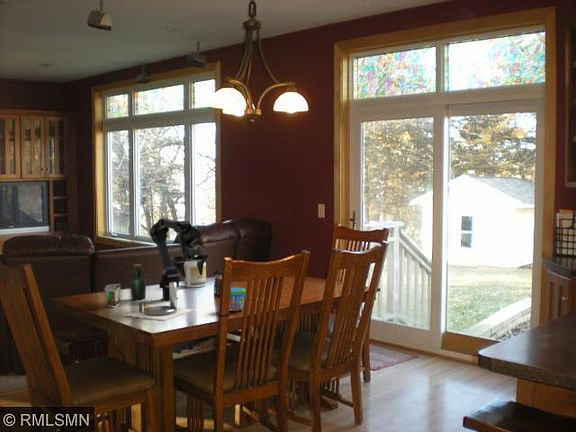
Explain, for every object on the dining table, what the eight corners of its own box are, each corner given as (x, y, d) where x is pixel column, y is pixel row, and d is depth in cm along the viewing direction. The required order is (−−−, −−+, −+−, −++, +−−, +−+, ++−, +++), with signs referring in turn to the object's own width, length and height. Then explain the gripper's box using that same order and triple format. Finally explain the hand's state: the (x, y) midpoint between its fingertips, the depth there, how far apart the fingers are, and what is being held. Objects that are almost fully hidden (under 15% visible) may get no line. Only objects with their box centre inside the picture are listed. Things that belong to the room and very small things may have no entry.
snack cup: (238, 306, 313) (237, 285, 312) (254, 309, 306) (253, 287, 305) (214, 312, 301) (214, 290, 300) (230, 315, 294) (230, 292, 294)
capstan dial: (137, 313, 296) (136, 285, 295) (157, 307, 309) (156, 279, 308) (163, 316, 289) (162, 287, 288) (183, 309, 302) (182, 281, 301)
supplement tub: (210, 285, 373) (209, 256, 372) (197, 288, 362) (196, 258, 361) (193, 283, 379) (193, 254, 378) (180, 286, 369) (179, 257, 368)
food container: (108, 303, 325) (108, 283, 324) (121, 303, 325) (120, 283, 324) (102, 308, 312) (101, 288, 312) (114, 308, 312) (114, 287, 312)
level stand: (126, 316, 294) (125, 305, 294) (156, 307, 314) (155, 296, 313) (165, 320, 284) (164, 308, 284) (193, 310, 304) (193, 299, 304)
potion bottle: (139, 297, 339) (138, 263, 338) (150, 298, 335) (149, 264, 334) (127, 299, 333) (126, 265, 331) (138, 301, 328) (137, 266, 327)
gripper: (177, 242, 304) (184, 274, 301) (211, 239, 316) (217, 270, 313) (166, 248, 313) (173, 280, 309) (199, 245, 325) (206, 275, 321)
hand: (193, 276), depth 313 cm, fingers open, 9 cm apart
